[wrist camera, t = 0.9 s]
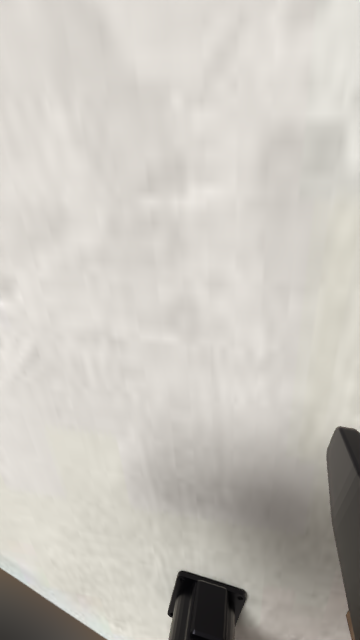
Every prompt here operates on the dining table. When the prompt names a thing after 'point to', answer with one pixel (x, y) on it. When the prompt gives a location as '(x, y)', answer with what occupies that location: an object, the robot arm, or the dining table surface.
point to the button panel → (350, 625)
